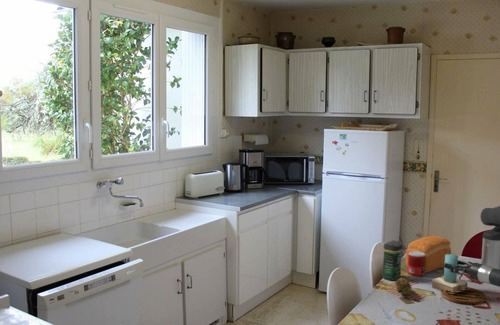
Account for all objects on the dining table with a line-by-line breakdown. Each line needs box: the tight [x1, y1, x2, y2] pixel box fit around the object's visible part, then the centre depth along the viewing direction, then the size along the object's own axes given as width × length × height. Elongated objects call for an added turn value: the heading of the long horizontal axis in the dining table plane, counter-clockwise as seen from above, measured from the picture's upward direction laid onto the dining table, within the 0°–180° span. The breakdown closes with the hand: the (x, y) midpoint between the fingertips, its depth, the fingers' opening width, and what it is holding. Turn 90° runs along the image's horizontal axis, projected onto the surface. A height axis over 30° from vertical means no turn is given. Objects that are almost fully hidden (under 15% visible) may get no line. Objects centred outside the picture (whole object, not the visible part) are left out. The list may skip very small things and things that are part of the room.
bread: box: [405, 235, 452, 274], centre depth 263 cm, size 14×26×16 cm, turn 130°
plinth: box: [431, 275, 468, 292], centre depth 230 cm, size 11×11×4 cm
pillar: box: [443, 253, 459, 283], centre depth 229 cm, size 6×6×12 cm
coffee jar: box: [381, 239, 403, 281], centre depth 243 cm, size 10×8×19 cm
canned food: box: [407, 251, 425, 277], centre depth 250 cm, size 8×8×11 cm
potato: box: [394, 277, 413, 296], centre depth 222 cm, size 8×13×8 cm, turn 140°
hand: (450, 263), depth 229 cm, fingers open, 8 cm apart
